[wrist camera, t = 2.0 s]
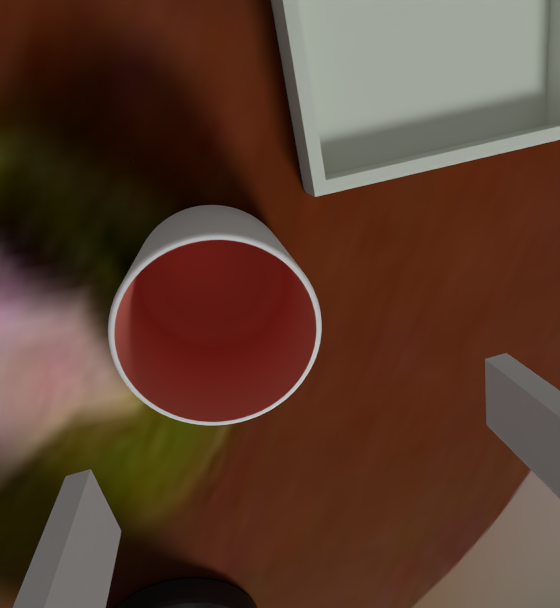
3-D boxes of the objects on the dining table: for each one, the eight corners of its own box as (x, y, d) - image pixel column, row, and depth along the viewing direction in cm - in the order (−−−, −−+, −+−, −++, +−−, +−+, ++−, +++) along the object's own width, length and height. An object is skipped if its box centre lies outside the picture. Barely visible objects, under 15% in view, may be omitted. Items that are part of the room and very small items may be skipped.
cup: (171, 174, 27) (155, 193, 17) (309, 240, 30) (358, 285, 20) (116, 312, 29) (77, 392, 20) (248, 360, 32) (268, 448, 23)
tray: (304, 191, 28) (315, 196, 26) (242, -159, 22) (249, -203, 19) (546, 134, 30) (582, 134, 27) (560, -210, 23) (609, -257, 20)
